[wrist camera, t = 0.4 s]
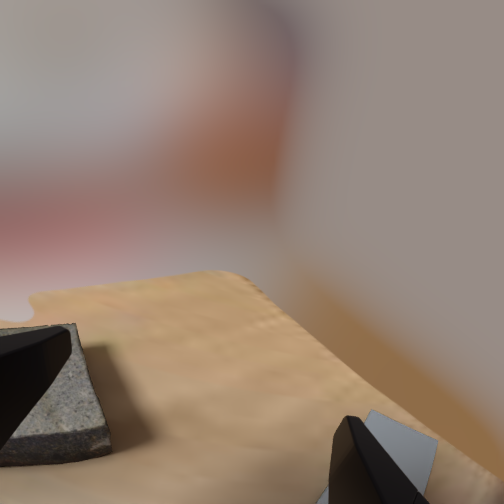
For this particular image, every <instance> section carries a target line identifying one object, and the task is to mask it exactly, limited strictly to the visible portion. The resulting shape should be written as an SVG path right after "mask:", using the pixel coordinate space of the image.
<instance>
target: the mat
mask: <svg viewBox="0 0 504 504" xmlns="http://www.w3.org/2000/svg"><path fill="white" fill-rule="evenodd" d="M364 424H365V425H366V427H367V428H368V429H369V430H370V432H371V433H372V434H373V435H374V437H375V438H376V439H377V440H378V442H379V443H380V444H381V445H382V447H383V448H384V449H385V450H386V451H387V453H388V454H389V455H390V456H391V458H392V459H393V460H394V461H395V463H396V464H397V465H398V466H399V467H400V469H401V470H402V471H403V472H404V474H405V475H406V476H407V477H408V478H409V480H410V481H411V482H412V483H413V484H414V486H415V487H416V488H417V489H418V491H419V492H420V493H421V494H422V495H424V492H425V489H426V486H427V482H428V479H429V475H430V472H431V468H432V464H433V461H434V457H435V452H436V448H437V444H438V440H436V439H433V438H431V437H429V436H427V435H424V434H422V433H420V432H418V431H416V430H413V429H411V428H409V427H407V426H405V425H403V424H401V423H398V422H396V421H394V420H392V419H390V418H388V417H386V416H384V415H382V414H380V413H378V412H376V411H374V410H371V411H370V413H369V415H368V417H367V419H366V420H365V422H364ZM316 504H328V486H327V487H326V489H325V491H324V492H323V493H322V495H321V496H320V498H319V499H318V501H317V502H316Z"/></svg>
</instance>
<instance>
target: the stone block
mask: <svg viewBox="0 0 504 504" xmlns="http://www.w3.org/2000/svg"><path fill="white" fill-rule="evenodd" d="M54 326H63V327H65V328H67V329H68V330H69V331H70V333H71V342H72V353H71V356H70V358H69V359H68V361H67V362H66V364H65V365H64V367H63V368H62V370H61V371H60V373H59V374H58V376H57V377H56V379H55V380H54V382H53V383H52V385H51V386H50V388H49V389H48V390H47V391H46V393H45V394H44V395H43V396H42V398H41V399H40V400H39V401H38V403H37V404H36V405H35V406H34V408H33V409H32V410H31V411H30V413H29V414H28V415H27V417H26V418H25V419H24V420H23V422H22V423H21V424H20V426H19V427H18V428H17V429H16V431H15V432H14V433H13V435H12V436H11V437H10V439H9V440H8V441H7V443H6V444H5V445H4V447H3V448H2V450H1V451H0V467H4V466H24V465H37V464H64V463H71V462H79V461H83V460H88V459H92V458H96V457H101V456H104V455H106V454H109V453H111V452H112V447H111V442H110V436H111V433H110V430H109V427H108V425H107V422H106V419H105V416H104V413H103V410H102V407H101V405H100V402H99V399H98V397H97V395H96V393H95V390H94V388H93V385H92V382H91V378H90V375H89V371H88V368H87V364H86V361H85V357H84V354H83V349H82V347H81V343H80V339H79V335H78V330H77V326H76V323H72V324H71V325H70V324H58V325H51V326H48V325H44V326H36V327H21V328H7V329H0V336H5V335H11V334H16V333H22V332H27V331H33V330H38V329H43V328H48V327H54Z"/></svg>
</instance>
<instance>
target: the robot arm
mask: <svg viewBox="0 0 504 504" xmlns="http://www.w3.org/2000/svg"><path fill="white" fill-rule="evenodd" d="M71 353H72V342H71V333H70V331H69V330H68V329H67V328H65V327H63V326H54V327H48V328H43V329H38V330H33V331H27V332H22V333H16V334H11V335H5V336H0V451H1V450H2V448H3V447H4V445H5V444H6V443H7V441H8V440H9V439H10V437H11V436H12V435H13V433H14V432H15V431H16V429H17V428H18V427H19V426H20V424H21V423H22V422H23V420H24V419H25V418H26V417H27V415H28V414H29V413H30V411H31V410H32V409H33V408H34V406H35V405H36V404H37V403H38V401H39V400H40V399H41V398H42V396H43V395H44V394H45V393H46V391H47V390H48V389H49V388H50V386H51V385H52V383H53V382H54V380H55V379H56V377H57V376H58V374H59V373H60V371H61V370H62V368H63V367H64V365H65V364H66V362H67V361H68V359H69V358H70V356H71ZM328 504H430V503H429V502H428V501H427V500H426V499H425V498H424V496H423V495H422V494H421V493H420V492H419V491H418V489H417V488H416V487H415V486H414V484H413V483H412V482H411V481H410V480H409V478H408V477H407V476H406V475H405V474H404V472H403V471H402V470H401V469H400V467H399V466H398V465H397V464H396V463H395V461H394V460H393V459H392V458H391V456H390V455H389V454H388V453H387V451H386V450H385V449H384V448H383V447H382V445H381V444H380V443H379V442H378V440H377V439H376V438H375V437H374V435H373V434H372V433H371V432H370V430H369V429H368V428H367V427H366V425H365V424H364V423H363V422H362V420H361V419H360V418H359V417H356V416H345V417H344V418H343V420H342V422H341V423H340V425H339V427H338V428H337V430H336V432H335V434H334V437H333V445H332V454H331V463H330V471H329V484H328Z"/></svg>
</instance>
